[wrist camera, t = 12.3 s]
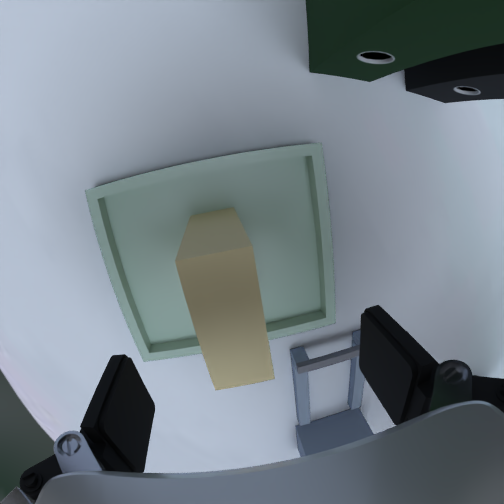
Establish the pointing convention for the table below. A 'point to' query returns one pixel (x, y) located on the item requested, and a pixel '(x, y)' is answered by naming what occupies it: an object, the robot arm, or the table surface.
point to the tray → (254, 222)
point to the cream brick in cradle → (225, 299)
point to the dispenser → (336, 426)
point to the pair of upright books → (412, 44)
